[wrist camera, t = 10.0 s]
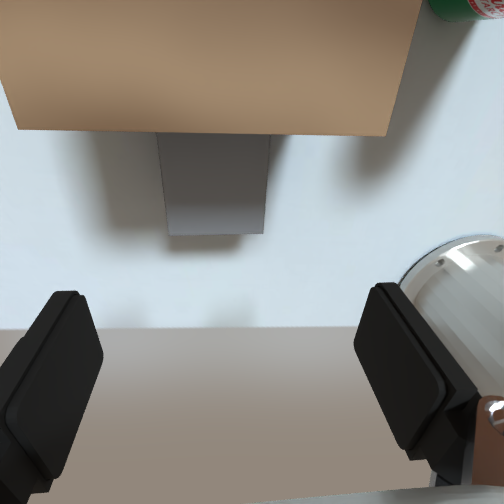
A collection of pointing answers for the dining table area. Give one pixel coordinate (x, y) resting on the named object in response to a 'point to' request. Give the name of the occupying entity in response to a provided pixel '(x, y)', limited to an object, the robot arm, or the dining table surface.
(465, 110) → the dining table surface
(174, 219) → the grey u-shaped piece
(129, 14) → the shelf
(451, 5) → the soda can
